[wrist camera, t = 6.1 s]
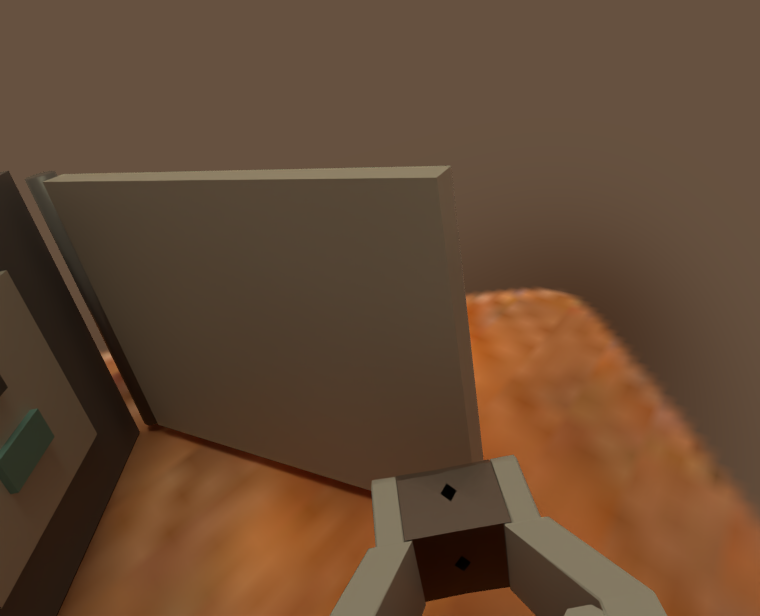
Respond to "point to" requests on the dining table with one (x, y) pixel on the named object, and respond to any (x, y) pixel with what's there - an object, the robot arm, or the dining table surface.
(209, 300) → the side door
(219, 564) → the dining table surface
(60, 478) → the box
